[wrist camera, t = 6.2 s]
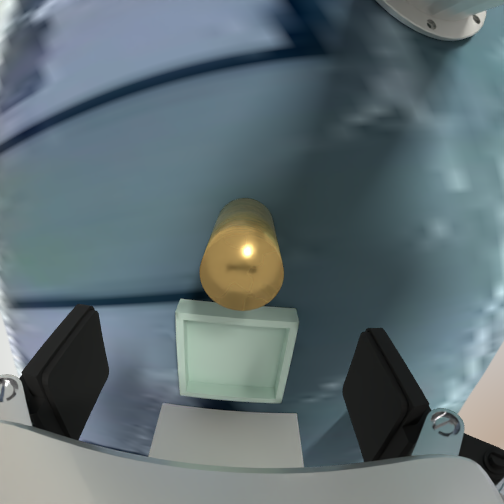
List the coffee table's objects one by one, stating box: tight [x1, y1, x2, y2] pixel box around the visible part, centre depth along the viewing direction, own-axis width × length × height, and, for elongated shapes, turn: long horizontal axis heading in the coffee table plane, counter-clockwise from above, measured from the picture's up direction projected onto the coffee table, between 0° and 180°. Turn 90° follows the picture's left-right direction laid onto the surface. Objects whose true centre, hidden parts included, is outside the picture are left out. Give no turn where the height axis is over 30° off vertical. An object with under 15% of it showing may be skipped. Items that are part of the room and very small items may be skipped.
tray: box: [175, 299, 299, 403], centre depth 26 cm, size 9×9×2 cm
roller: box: [200, 198, 284, 311], centre depth 19 cm, size 4×4×8 cm
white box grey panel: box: [148, 403, 304, 468], centre depth 26 cm, size 7×14×11 cm, turn 85°
